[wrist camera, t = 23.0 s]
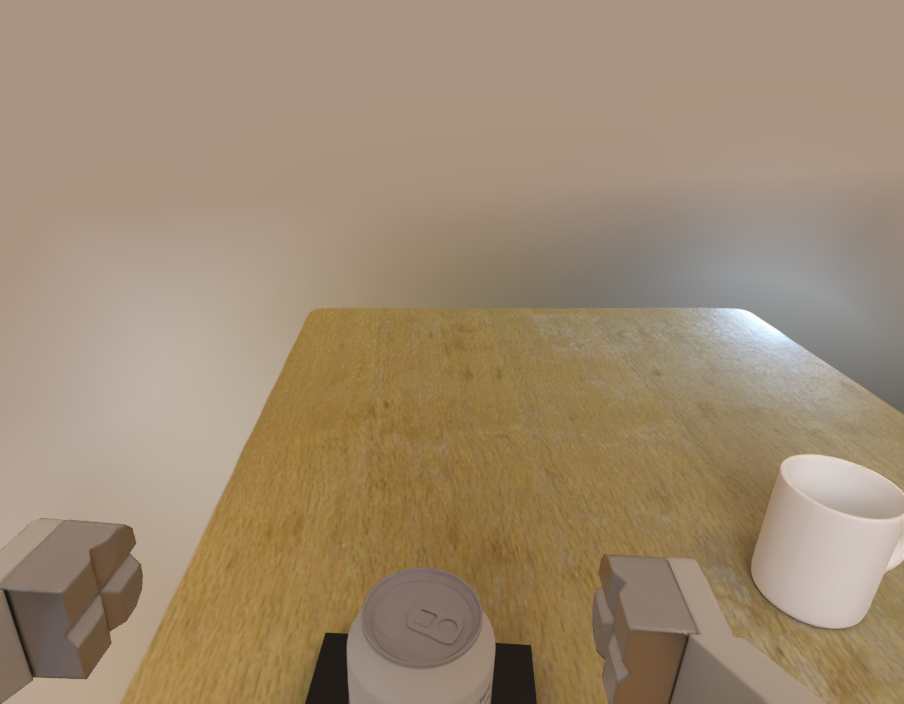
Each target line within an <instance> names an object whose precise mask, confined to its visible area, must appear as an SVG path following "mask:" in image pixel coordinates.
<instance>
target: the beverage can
mask: <svg viewBox="0 0 904 704" xmlns="http://www.w3.org/2000/svg"><path fill="white" fill-rule="evenodd" d="M495 648H496V646H495V636H494V632H493V628H492V626H491V623H490V621H489V619H488V617H487V615H486V614H485V612H484V611H483V610H482V605H481V602H480V600H479V597H478V595H477V594H476V592H475V591H474V590H473V588H472V587H471V586H470V585H469V584H468V583H467V582H465V581H464V580H463V579H461V578H460V577H458V576H456V575H454V574H452V573H450V572H447V571H444V570H441V569H436V568H429V567H417V568H409V569H404V570H401V571H398V572H395V573H393V574H391V575H389V576H387V577H385V578H384V579H382V580H381V581H380V582H378V583H377V584H376V585H375V586H374V587H373V588H372V589H371V591H370V592H369V593H368V595H367V597H366V598H365V601H364V603H363V606H362V609H361V610H360V612H359V613H358V615H357V616H356V618H355V619H354V621H353V623H352V626H351V628H350V631H349V635H348V639H347V670H348V693H349V704H490V703H491V692H492V682H493V671H494V660H495Z"/></svg>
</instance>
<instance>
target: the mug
mask: <svg viewBox="0 0 904 704" xmlns="http://www.w3.org/2000/svg"><path fill="white" fill-rule="evenodd" d="M902 561H904V492H903V491H902V490H901V489H900V488H899V487H897V486H896V485H895V484H894V483H892V482H891V481H890V480H888V479H886V478H885V477H883V476H882V475H880V474H878V473H876V472H874V471H872V470H870V469H868V468H866V467H863V466H861V465H858V464H855V463H853V462H850V461H846V460H843V459H839V458H835V457H830V456H824V455H816V454H801V455H795V456H791V457H789V458H787V459H786V460H784V461H783V462H782V464H781V466H780V469H779V472H778V475H777V478H776V482H775V485H774V488H773V491H772V495H771V498H770V501H769V505H768V508H767V511H766V514H765V518H764V521H763V524H762V527H761V531H760V534H759V537H758V540H757V544H756V547H755V550H754V554H753V557H752V563H751V574H752V577H753V580H754V582H755V584H756V586H757V588H758V589H759V590H760V592H761V593H762V594H763V595H764V597H765V598H766V599H767V600H768V601H769V602H771V603H772V604H773V605H774V606H775V607H777V608H778V609H779V610H781V611H782V612H784V613H786V614H787V615H789V616H791V617H793V618H795V619H797V620H799V621H801V622H804V623H807V624H810V625H813V626H817V627H822V628H829V629H841V628H847V627H851V626H853V625H855V624H857V623H859V622H860V621H861V620H862V619H863V618H864V616H865V615H866V614H867V612H868V610H869V608H870V606H871V604H872V601H873V599H874V596H875V594H876V592H877V589H878V587H879V585H880V582H881V580H882V578H883V575H884V573H885V572H887V571H889V570H891V569H893V568H895V567H896V566H898V565H899V564H900V563H901V562H902Z"/></svg>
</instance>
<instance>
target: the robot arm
mask: <svg viewBox="0 0 904 704" xmlns="http://www.w3.org/2000/svg"><path fill="white" fill-rule="evenodd" d="M135 545H136V540H135V537H134V533H133V529H132V528H131V527H129V526H127V525H122V524H112V523H99V522H88V521H77V520H69V521H68V520H58V519H47V518H41V519H38V520H35V521H32V522H31V523H30V524H28V525H27V526H26V527H25V528H24V529H23V530H22V531H21V532H20V533H19V534H18V535H17V536H15V537H14V538H13V539H12V540H11V541H10V542H9V543H8V544H7V545H6V546H5V547H4V548H3V549H1V550H0V704H2V703H3V702H4V701H5V700H7V699H8V698H9V697H11V696H12V695H14V694H15V693H16V692H18V691H19V690H20V689H22V688H23V687H24V686H26V685H27V684H29V683H30V682H31V681H32V680H33V678H32V677H41V678H69V679H87V678H88V677H89V675H90V674H91V672H92V671H93V669H94V668H95V666H96V665H97V663H98V662H99V661H100V659H101V658H102V656H103V655H104V653H105V652H106V650H107V649H108V648H109V646H110V644H111V638H110V631H111V630H113V629H114V628H116V627H118V626H119V625H121V624H122V623H124V622H126V621H127V620H128V618H129V616H130V615H131V613H132V612H133V610H134V609H135V607H136V605H137V602H138V599H139V596H140V593H141V590H142V577H143V574H142V569H141V564H140V563H139V562H138V561H137V560H136V559H135V558H134V557H133V556H132V555H131V554H130V552H131V550H132V549H133V547H134V546H135ZM599 576H600V580H601V584H602V587H601V588H600V589H598V590H597V591H596V592H595V595H594V602H593V617H592V626H593V634H594V641H595V645H596V650H597V652H598V653H599V654H600V655H601V656H602V657H603V658H604V659H605V663H604V669H603V674H602V677H603V682H604V686H605V690H606V695H607V699H608V704H827V703H826V702H825V701H823V700H822V699H821V698H820V697H818V696H817V695H816V694H815V693H813V692H812V691H811V690H810V689H808V688H807V687H806V686H805V685H803V684H802V683H801V682H799V681H798V680H797V679H796V678H794V677H793V676H792V675H791V674H789V673H788V672H787V671H786V670H784V669H783V668H782V667H781V666H779V665H778V664H777V663H775V662H774V661H773V660H772V659H770V658H769V657H768V656H767V655H765V654H764V653H763V652H762V651H760V650H759V649H758V648H757V647H755V646H754V645H753V644H751V643H750V642H749V641H748V640H746V639H745V638H742V637H735V636H734V634H733V632H732V630H731V628H730V626H729V624H728V622H727V620H726V618H725V616H724V614H723V612H722V610H721V608H720V606H719V604H718V602H717V600H716V598H715V596H714V594H713V592H712V590H711V588H710V586H709V584H708V582H707V580H706V578H705V576H704V574H703V572H702V570H701V568H700V566H699V564H698V562H697V561H695V560H694V559H693V558H673V557H663V558H660V557H643V556H624V555H606V554H604V555H603V557H602V560H601V563H600V568H599Z"/></svg>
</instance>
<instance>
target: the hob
mask: <svg viewBox="0 0 904 704" xmlns="http://www.w3.org/2000/svg"><path fill="white" fill-rule="evenodd" d="M348 635H349V634H340V633H325V636H324V640H323V643H322V647H321V650H320V654H319V657H318V661H317V664H316V668H315V671H314V675H313V678H312V682H311V685H310V689H309V692H308V696H307V699H306V703H305V704H349V693H348V670H347V639H348ZM495 646H496V648H495V660H494V671H493V682H492V692H491V703H490V704H537V702H536V692H535V682H534V672H533V662H532V652H531V645H520V644H503V643H495Z"/></svg>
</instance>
